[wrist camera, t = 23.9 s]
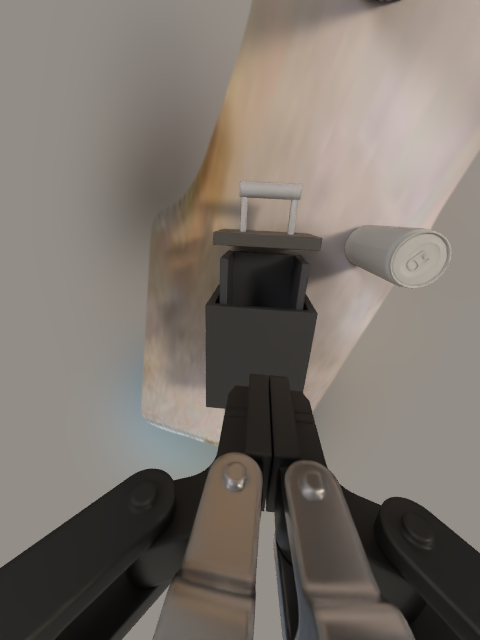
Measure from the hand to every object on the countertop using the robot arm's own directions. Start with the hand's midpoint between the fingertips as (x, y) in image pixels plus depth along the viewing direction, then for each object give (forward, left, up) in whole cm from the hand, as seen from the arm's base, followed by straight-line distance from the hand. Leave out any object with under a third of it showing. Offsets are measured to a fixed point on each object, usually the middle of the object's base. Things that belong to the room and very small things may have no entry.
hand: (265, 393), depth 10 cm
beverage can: (-4, +12, -25) cm, 28 cm away
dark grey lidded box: (+9, 0, -25) cm, 27 cm away
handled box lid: (-1, 0, -24) cm, 24 cm away
